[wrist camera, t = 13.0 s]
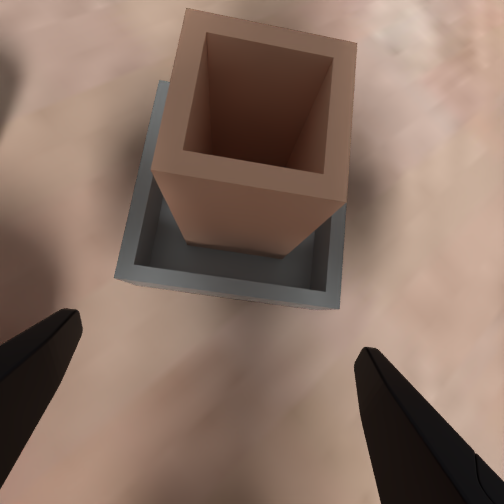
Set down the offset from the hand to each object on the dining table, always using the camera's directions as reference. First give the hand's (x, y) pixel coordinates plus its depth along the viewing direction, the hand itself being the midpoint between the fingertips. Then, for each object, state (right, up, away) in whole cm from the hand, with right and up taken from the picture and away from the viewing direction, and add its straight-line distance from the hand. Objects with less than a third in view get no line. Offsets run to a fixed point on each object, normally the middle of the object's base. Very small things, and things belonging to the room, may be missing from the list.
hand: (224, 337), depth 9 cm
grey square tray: (0, +5, +11) cm, 12 cm away
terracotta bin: (0, +6, +10) cm, 11 cm away
